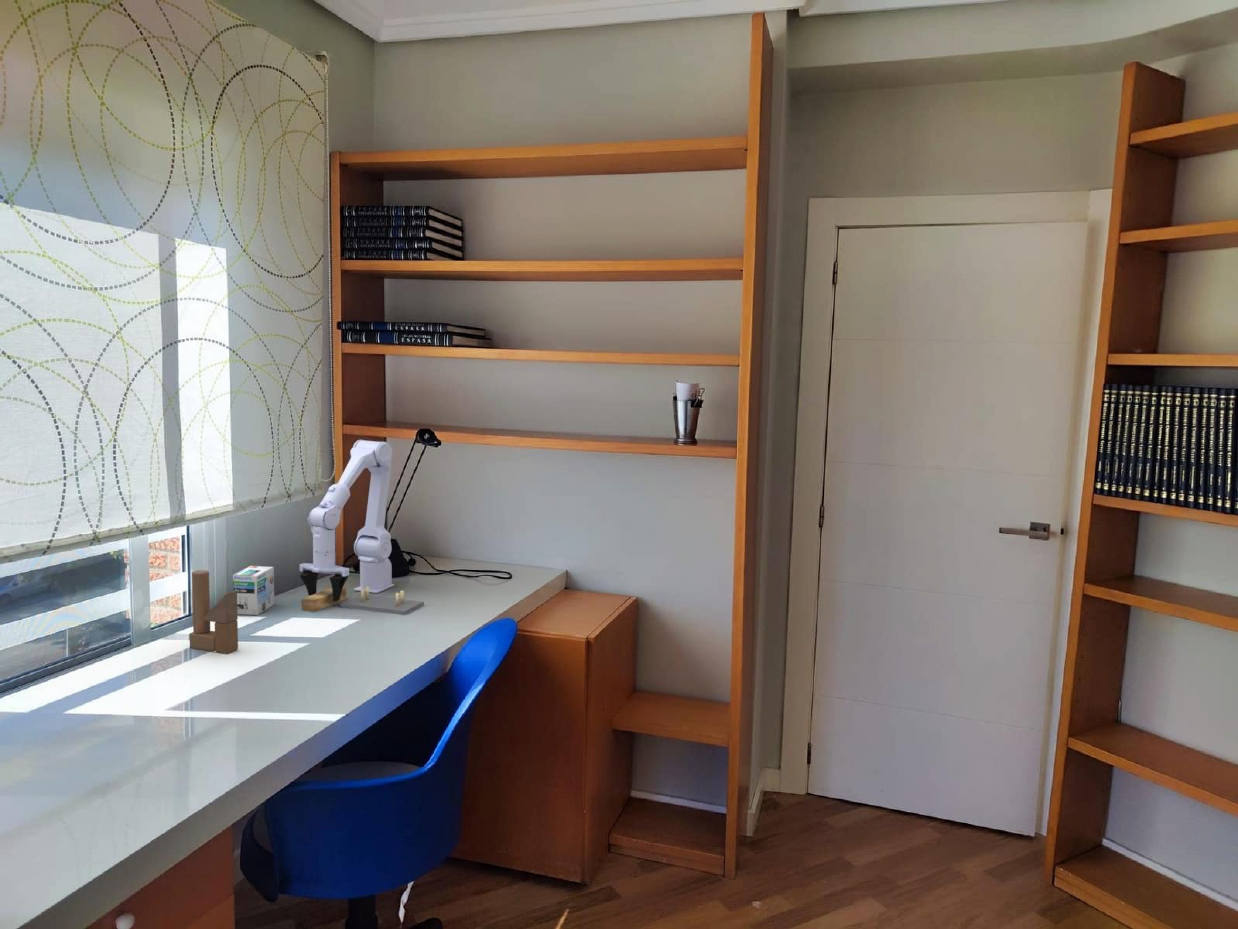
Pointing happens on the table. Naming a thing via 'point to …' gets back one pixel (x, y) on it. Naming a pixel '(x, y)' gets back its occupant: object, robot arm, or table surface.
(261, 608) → the light bulb box
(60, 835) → the table surface
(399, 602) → the peg stand
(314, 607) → the light wood bar
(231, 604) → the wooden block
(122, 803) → the table surface
